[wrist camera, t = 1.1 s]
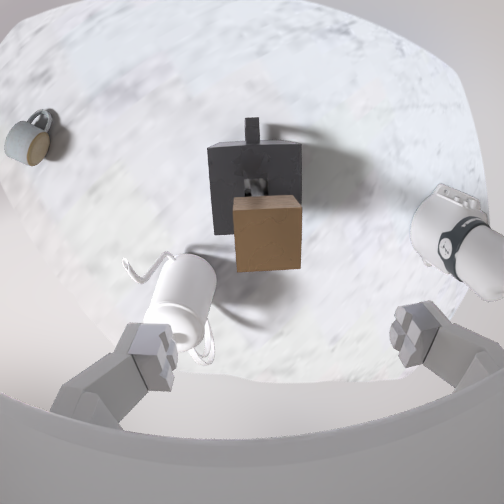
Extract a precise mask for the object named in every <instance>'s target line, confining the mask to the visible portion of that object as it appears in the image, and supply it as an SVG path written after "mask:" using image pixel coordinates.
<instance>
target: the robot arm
mask: <svg viewBox="0 0 504 504" xmlns="http://www.w3.org/2000/svg"><path fill="white" fill-rule="evenodd" d="M410 239H411V243H412V246H413V248H414V250H415V251H416V252H417V253H418V254H419V255H420V256H421V257H422V260H423V263H424V265H426V266H427V267H431V266H434V267H435V268H437V269H438V270H440V271H441V272H442V273H444V274H446V275H448V274H451V275H452V276H453V277H454V278H455V279H457V280H459V281H460V282H464V283H465V284H466V285H467V286H468V287H469V288H470V289H471V290H473V291H474V292H475V293H476V294H477V295H478V296H479V297H480V298H481V299H482V300H484V301H487V302H493V301H498V300H500V299H502V298H503V297H504V236H503V235H501V234H499V233H498V232H496V231H494V230H492V229H491V228H490V226H489V225H488V221H487V216H486V214H485V213H484V212H482V211H481V209H480V202H479V200H478V199H476V198H474V197H472V196H470V195H468V194H465V193H463V192H461V191H458V190H456V189H454V188H451V187H449V186H446V185H444V184H439V185H438V186H437V187H436V188H435V190H434V192H433V193H432V195H431V196H429V197H428V198H427V199H425V200H424V201H423V202H422V203H421V205H420V206H419V207H418V209H417V210H416V212H415V214H414V217H413V219H412V223H411V228H410ZM394 316H395V318H396V320H395V321H394V322H393V324H392V325H391V328H390V341H391V344H392V346H393V348H394V349H396V350H398V351H399V355H398V356H399V358H400V360H401V362H402V363H403V365H404V367H405V368H408V367H412V366H416V365H420V364H423V365H424V366H425V367H427V368H428V369H430V370H431V371H432V372H434V373H435V374H436V375H438V376H439V377H441V378H442V379H443V380H445V381H446V382H447V383H449V384H450V385H451V386H453V387H454V388H455V390H454V391H453V393H452V394H450V395H448V396H445V397H443V398H440V399H437V400H435V401H433V402H430V403H427V404H425V405H422V406H419V407H416V408H413V409H410V410H407V411H404V412H401V413H398V414H394V415H391V416H388V417H384V418H381V419H377V420H373V421H369V422H366V423H361V424H357V425H353V426H348V427H343V428H338V429H333V430H327V431H322V432H315V433H308V434H300V435H293V436H283V437H271V438H256V439H194V438H179V437H167V436H158V435H150V434H142V433H135V432H130V431H124V430H123V428H122V427H121V426H120V425H119V422H120V421H121V420H122V419H123V418H124V417H125V416H126V415H127V414H128V413H129V412H130V411H131V410H132V408H133V407H134V406H135V405H136V404H137V403H138V402H139V401H140V400H141V399H142V398H143V397H144V396H145V395H146V394H147V393H148V391H169V392H171V390H172V385H173V381H174V375H173V372H172V371H173V370H174V369H175V368H176V367H177V362H178V352H177V346H176V342H174V341H173V340H172V339H171V338H172V334H173V332H172V329H171V326H170V325H169V324H156V323H129V324H127V326H126V328H125V330H124V332H123V334H122V336H121V338H120V340H119V342H118V344H117V346H116V348H115V350H114V353H109V354H107V355H106V356H104V357H103V358H101V359H100V360H98V361H97V362H95V363H94V364H93V365H91V366H90V367H88V368H87V369H85V370H84V371H82V372H81V373H79V374H78V375H77V376H75V377H74V378H72V379H71V380H69V381H68V382H66V383H65V384H63V385H62V387H61V389H60V391H59V393H58V394H57V397H56V399H55V401H54V403H53V405H52V407H51V409H50V411H47V410H43V409H41V408H38V407H35V406H32V405H30V404H27V403H25V402H22V401H20V400H18V399H15V398H13V397H11V396H8V395H6V394H4V393H2V392H0V504H504V350H503V349H502V347H501V346H500V345H499V344H498V343H497V342H494V341H492V340H490V339H488V338H486V337H484V336H482V335H479V334H477V333H475V332H473V331H471V330H469V329H467V328H464V327H462V326H460V325H457V324H455V323H453V324H452V323H451V322H450V321H449V320H448V318H447V317H446V316H445V315H444V314H443V313H442V312H441V310H440V309H439V308H438V307H437V306H436V305H435V304H434V303H433V302H432V301H430V300H428V301H424V302H419V303H415V304H410V305H404V306H398V308H397V309H396V311H395V314H394Z"/></svg>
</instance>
